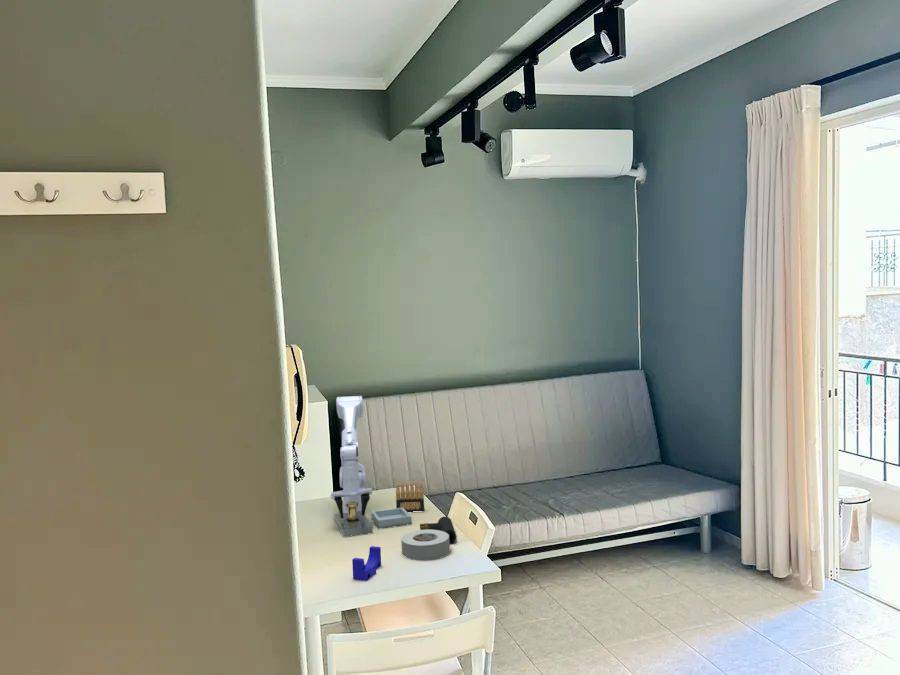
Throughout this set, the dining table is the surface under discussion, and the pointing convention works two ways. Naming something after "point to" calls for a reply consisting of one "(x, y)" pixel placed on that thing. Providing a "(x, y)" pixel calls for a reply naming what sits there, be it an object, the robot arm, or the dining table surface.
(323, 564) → the dining table surface
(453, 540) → the black power drill
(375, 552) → the cable clip
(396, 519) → the tray
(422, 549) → the tape roll
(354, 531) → the metal plate with hole
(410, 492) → the ammunition clip
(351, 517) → the gold flared cylinder
